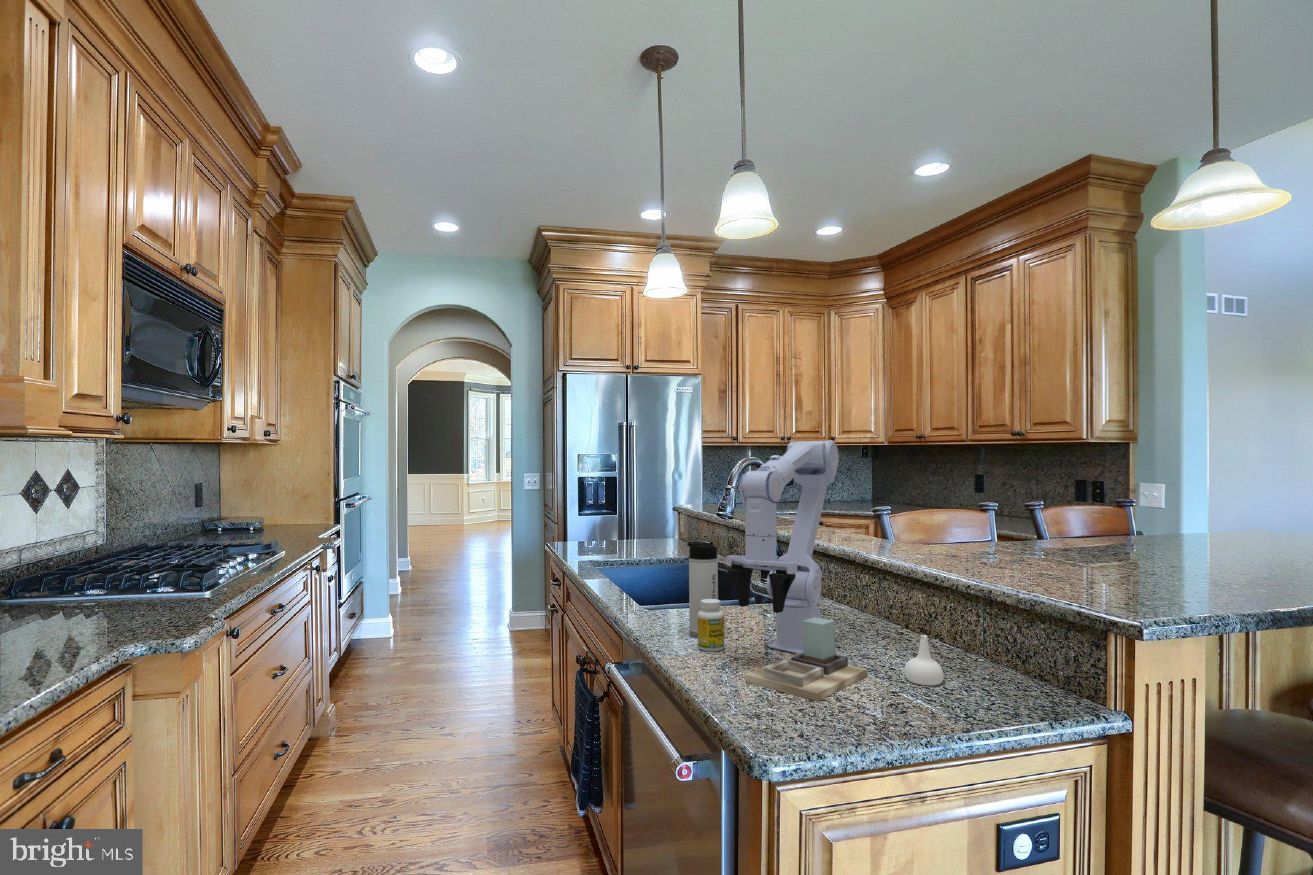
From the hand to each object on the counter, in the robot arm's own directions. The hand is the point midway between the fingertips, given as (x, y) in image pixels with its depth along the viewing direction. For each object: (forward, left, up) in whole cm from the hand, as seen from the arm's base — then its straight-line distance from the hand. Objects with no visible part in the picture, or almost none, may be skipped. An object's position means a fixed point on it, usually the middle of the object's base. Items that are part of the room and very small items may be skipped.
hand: (760, 608), depth 123 cm
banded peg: (-4, +10, -9) cm, 14 cm away
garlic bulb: (-12, +25, -11) cm, 30 cm away
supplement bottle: (-3, -14, -11) cm, 18 cm away
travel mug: (-10, -22, -11) cm, 26 cm away
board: (0, +10, -10) cm, 14 cm away
